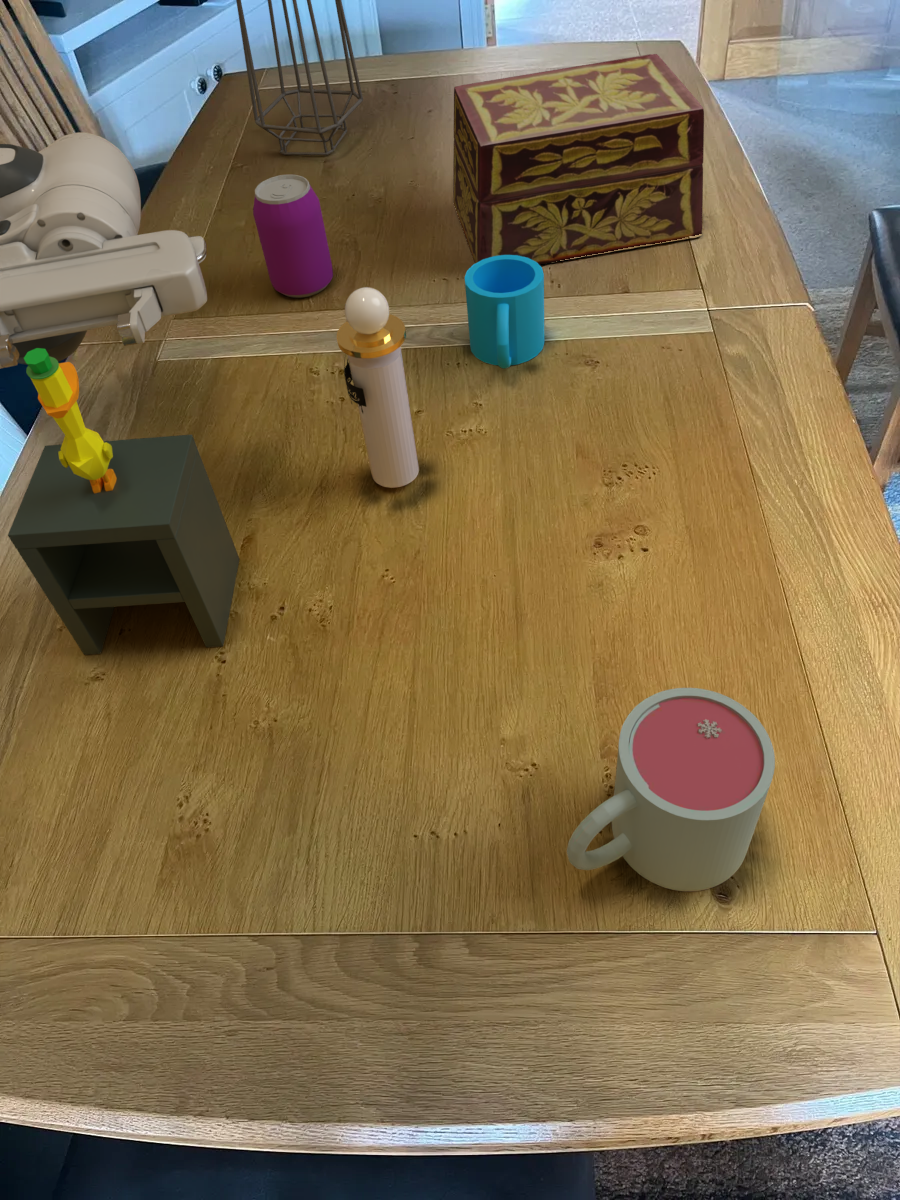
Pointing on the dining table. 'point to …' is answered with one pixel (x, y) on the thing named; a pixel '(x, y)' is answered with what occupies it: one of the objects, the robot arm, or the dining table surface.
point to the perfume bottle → (379, 385)
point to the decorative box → (578, 160)
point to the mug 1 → (505, 309)
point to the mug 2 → (682, 791)
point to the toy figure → (70, 419)
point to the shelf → (129, 539)
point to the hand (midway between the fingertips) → (66, 348)
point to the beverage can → (292, 236)
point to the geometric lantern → (251, 73)
